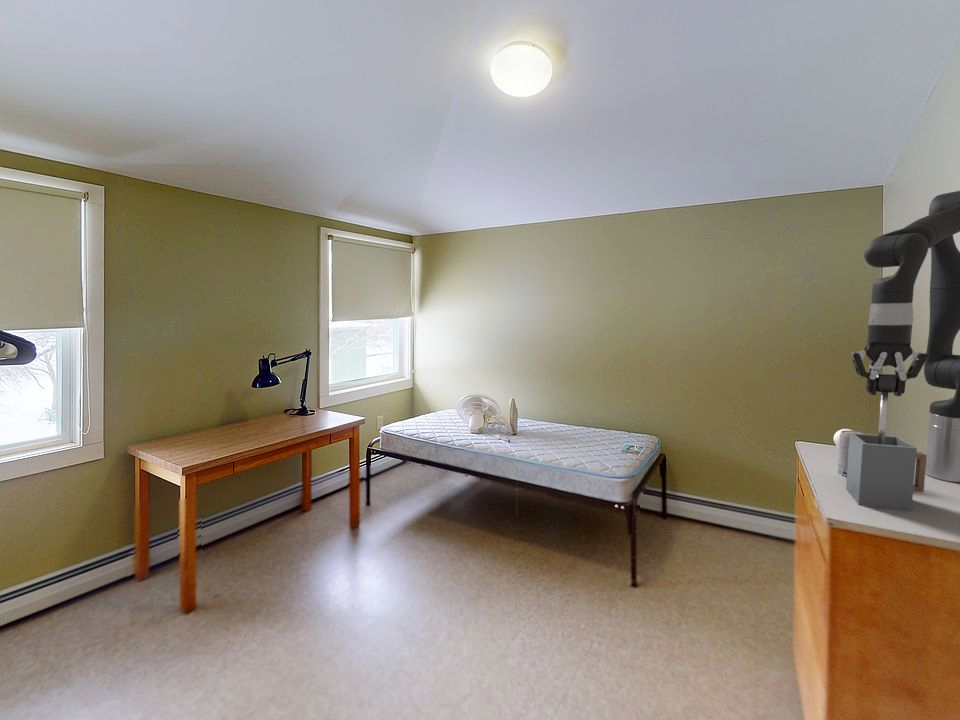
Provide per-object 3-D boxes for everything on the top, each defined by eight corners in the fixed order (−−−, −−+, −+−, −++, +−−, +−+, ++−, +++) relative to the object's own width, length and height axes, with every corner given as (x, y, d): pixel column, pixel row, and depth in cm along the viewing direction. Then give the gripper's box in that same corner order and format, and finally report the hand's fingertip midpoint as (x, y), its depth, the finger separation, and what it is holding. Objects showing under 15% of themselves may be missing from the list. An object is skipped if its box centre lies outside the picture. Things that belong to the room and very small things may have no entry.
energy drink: (866, 478, 121) (869, 436, 119) (844, 477, 122) (847, 435, 120) (854, 471, 126) (857, 430, 124) (833, 470, 127) (835, 430, 126)
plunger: (892, 456, 109) (899, 372, 106) (905, 465, 102) (912, 377, 100) (856, 453, 112) (862, 371, 109) (866, 462, 105) (872, 376, 103)
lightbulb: (848, 461, 133) (851, 426, 132) (864, 469, 127) (866, 432, 126) (827, 461, 134) (829, 426, 133) (841, 469, 128) (843, 432, 127)
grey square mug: (911, 496, 109) (916, 437, 107) (930, 513, 100) (935, 449, 99) (846, 489, 115) (849, 432, 113) (858, 504, 106) (862, 443, 104)
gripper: (923, 321, 103) (917, 393, 105) (846, 322, 110) (842, 390, 112) (939, 323, 97) (932, 400, 99) (856, 324, 103) (851, 396, 105)
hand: (884, 394), depth 105 cm, fingers closed on plunger, 4 cm apart
